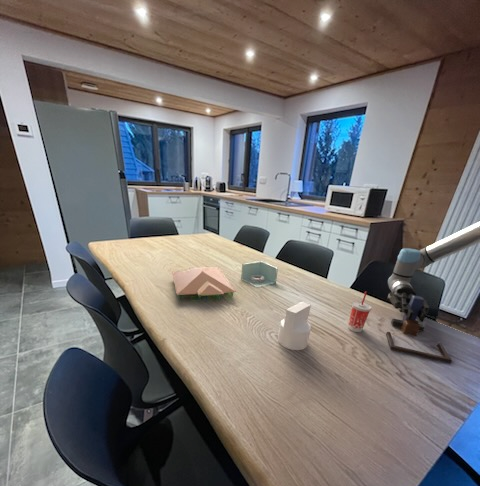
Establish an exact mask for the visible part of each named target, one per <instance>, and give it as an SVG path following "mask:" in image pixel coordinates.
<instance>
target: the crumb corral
mask: <svg viewBox="0 0 480 486" xmlns="http://www.w3.org/2000/svg"><path fill="white" fill-rule="evenodd" d="M385 336H386V339H387V342H388V345H389V349H390V350H391V351H395V352H399V353H404V354H407V355H408V354H409V355H412V356H417V357H421V358H425V359H429V360H435V361H438V362H443V363H447V364H451V363H452V362H453V361H452V358H451V356H450V355H449V353H448V351H447V350H446V349H445V347H444V345H443V343H441V342H437V343H436V347H437V349H438V351H439V352H440V354H441V355H438V354H435V353H429V352H424V351H420V350H416V349H413V348H406V347H404V346H403V347H402V346H398V345H395V342H394V339H393V337H392V334H391V332H390V331H386V334H385Z"/></svg>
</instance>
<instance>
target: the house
mask: <svg viewBox="0 0 480 486" xmlns="http://www.w3.org/2000/svg"><path fill="white" fill-rule="evenodd" d="M171 274H172V278H173V283H174V288H175V292H176V296H177V297H178V302H181V300H180V298H183V296H188V295H192V296H191V298H195V297H196V300H195V299H192V302H193V301H194V302H196V301H201V298H202V297H205V298H204V301H205V302H207V303H211V302H213V300H208V297H210V299H215V296H217V302H220V301H221V297H223V296H225V295H229V296H230V297H226V300H228V299H229V300H230V299H233V298H234V293H236V290H235V289H234V287H233V286H232V284H231V282H230V281H229V280H228V278H227V277H226V276H225V274H224V273H223V271H222V270H221V268H220V267H217V266H216V267H215V266H200V267H199V266H198V267H189V268H188V269H187V270H178V271H172V272H171ZM193 295H194V296H193Z"/></svg>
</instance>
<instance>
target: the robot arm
mask: <svg viewBox="0 0 480 486" xmlns="http://www.w3.org/2000/svg"><path fill="white" fill-rule="evenodd" d="M478 244H480V220H479V221H477V222H474V223H472V224H470V225H468V226H466V227H464V228H463V229H462V228H461V229H460V230H457V231H456V232H454V233H452V234H450V235H448V236H446V237H444V238H442V239H439V240H438V241H435V242H434V243H432V244H430V245H427V246H426V247H424V248H421V249H415V248H409V247H407V248H406V247H404V248H402V249H400V251H399V254H398V255H397V259H396V262H395V264H394V267H393V271H392V273H391V275H390V276H389V277H388V279H387V287H388V289H389V290H390V291H389V292H388V295H387V300H388V301H390V303H391V304H392V306H393V307H394V309H396V310H398V309H399V312H400V313H404V315H405V314H406V316H407V318H408V319H409V320H411V317H412V315H413V311H412V309H411V308H410V306H409V303H410V300H411V298H412V295H414V296H417V294H416V290H415V289H414V288H413V285H411V281H412V279H413V276H414V273H415V271H416V270H419V269H423V268H426V267H428V266H430V265H431V264H435V263H436V262H438V261H440V260H443V259H445V258H447V257H450V256H452V255H454V254H457V253H459V252H461V251H463V250H466V249H468V248H470V247H473V246H475V245H478ZM423 299H424V302H423V304H422V307H421V309H420V312H419V314H418V316H417V319H418V321H419V322H421V323H423V322H424V321H425V318H426V316H427V315H428V312H429V310H430V307H429V304H428V303H427V302H428V299H427V298H423Z"/></svg>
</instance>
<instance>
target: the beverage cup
mask: <svg viewBox="0 0 480 486" xmlns="http://www.w3.org/2000/svg"><path fill="white" fill-rule="evenodd" d="M367 294H368V291H367V290H366V291H364V295H363V299H362V300H361V301H353V302H352V303H351V311H350V316H349V320H348V325H347V328H348V329H349V330H350V331H352V332H356V333H360V332H362V331H363V329H364V327H365V324H366V321H367V319H368V317H369V315H370V312H371V311H372V308H373V307H372V305H370V304H369V303H366V302H365V300H366V296H367Z"/></svg>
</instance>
